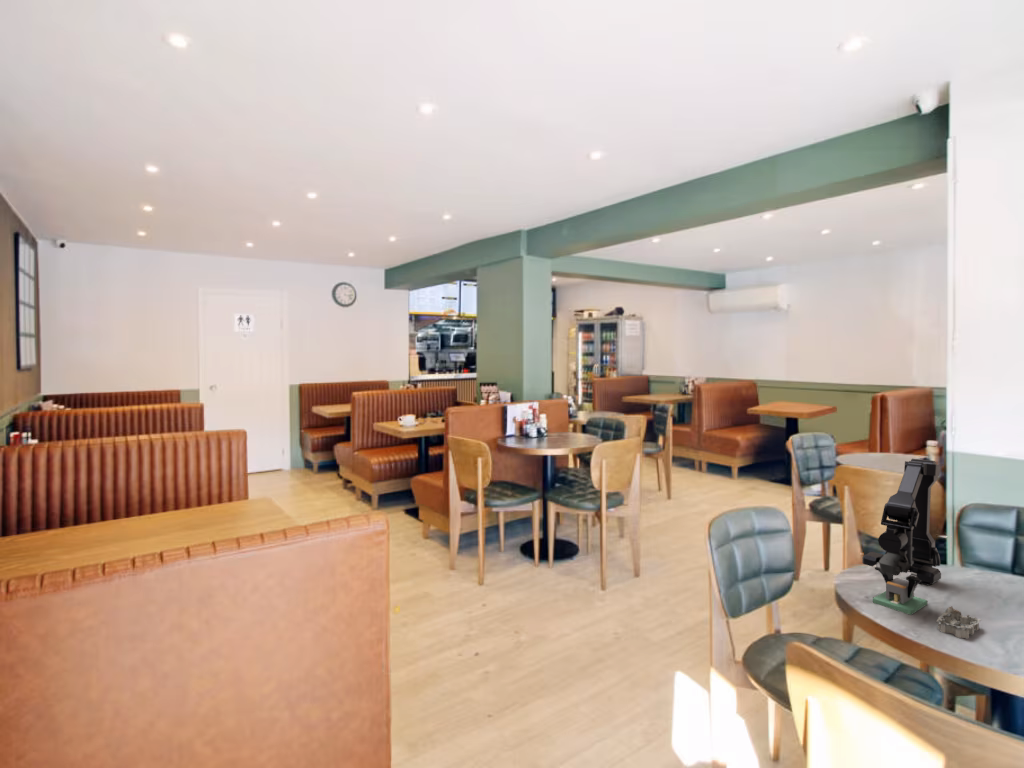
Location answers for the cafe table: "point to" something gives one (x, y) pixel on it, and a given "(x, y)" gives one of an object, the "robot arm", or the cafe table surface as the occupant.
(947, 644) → the cafe table surface
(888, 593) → the plug housing
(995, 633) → the cafe table surface
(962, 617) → the egg carton
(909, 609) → the board
